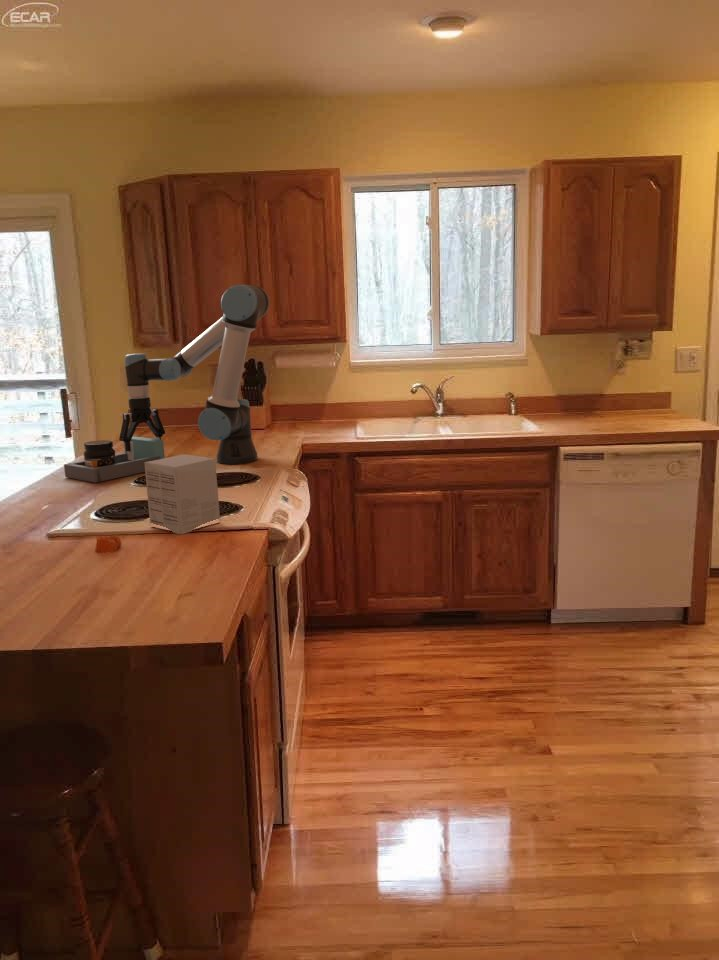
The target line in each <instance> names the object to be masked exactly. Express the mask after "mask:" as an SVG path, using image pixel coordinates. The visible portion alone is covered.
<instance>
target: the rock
mask: <svg viewBox="0 0 719 960" xmlns="http://www.w3.org/2000/svg"><path fill="white" fill-rule="evenodd" d="M121 545H122V541H121V537H120V536H119V535H110V536H105V537H103V536H101V535H97V536H96V544H95V547H94V548H95V549H94V551H95V552H96V553H103V552H104V553H105V552H110V553H114V552H116V551H117V550H119V548H120V547H121ZM105 554H106V553H105Z"/></svg>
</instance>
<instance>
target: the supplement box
mask: <svg viewBox="0 0 719 960" xmlns="http://www.w3.org/2000/svg"><path fill="white" fill-rule="evenodd" d="M144 464H145V472H144V474H145V483H146V495H147V505H148V516H149V524H150V523H153V524H156V525H160V526H163V527H166V528H168V529H170V530H171V531H172V532H173V533H172V532H171V533H172V534H177V535H184V534H187V533H191V532H193V531H192V529H194V528H196V527H198V526H200V525H202V524H205V523H207V522H210V521H213V520H216V519H219V518H220V519H221V515H220V514H221V513H220V503H219V502H220V501H219V490H218V479H217V478H218V477H217V476H218V475H217V467H216V464H217V462H216V459H215V458H213V457H207V456H199V455H193V454H192V455H191V454H186V453H185V454H177V455H173V456H169V457H165V458H164V459H159V460H154V461H149V462H144Z"/></svg>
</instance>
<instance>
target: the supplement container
mask: <svg viewBox="0 0 719 960" xmlns="http://www.w3.org/2000/svg"><path fill="white" fill-rule="evenodd" d="M113 447H114V441H112V439H111V440H110V439H100V440H98V439H97V440H89V441H86V442H84V443H83V449H84V451H83V453H82V454H83V458H84V460H83V461H85V466H88V467H94V468H97V467H102V466H107V465H112V464H116V458H115V454H116V450H115V449H114V448H113Z"/></svg>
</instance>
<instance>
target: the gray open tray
mask: <svg viewBox="0 0 719 960" xmlns="http://www.w3.org/2000/svg"><path fill="white" fill-rule="evenodd" d="M130 442H133V451H134V460H128V454H127V451H126V450H125V449H124V452H121V453H115V458H116V464H112V465H107V466H102V467H97V468H94V467H88V466H85V461H84V460H81V461H80V460H79V461H74V462H69V463H64V464H63V467H64V476H65V478H68V479H72V480H73V479H74V480H78V481H85V482H89V483H93V484H94V483H101V482H104V481H110V480H114V479H120V478H124V477H128V476H132V475H137V474H141V473H145V464H144V462H149V461H154V460H159V459H164V458H166V455H165V444H164V439H161V440H159V439H153V438H149V437H140V436H134V435H133V437H132V439H131V441H130ZM123 445H124V447H123V448H125V442H123Z"/></svg>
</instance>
